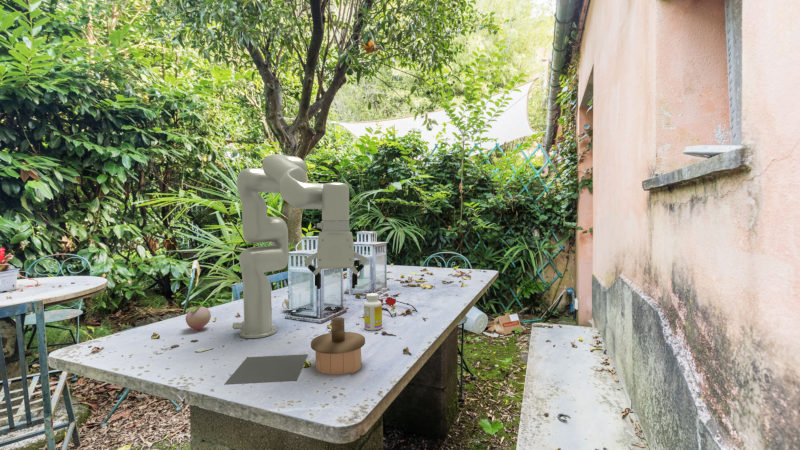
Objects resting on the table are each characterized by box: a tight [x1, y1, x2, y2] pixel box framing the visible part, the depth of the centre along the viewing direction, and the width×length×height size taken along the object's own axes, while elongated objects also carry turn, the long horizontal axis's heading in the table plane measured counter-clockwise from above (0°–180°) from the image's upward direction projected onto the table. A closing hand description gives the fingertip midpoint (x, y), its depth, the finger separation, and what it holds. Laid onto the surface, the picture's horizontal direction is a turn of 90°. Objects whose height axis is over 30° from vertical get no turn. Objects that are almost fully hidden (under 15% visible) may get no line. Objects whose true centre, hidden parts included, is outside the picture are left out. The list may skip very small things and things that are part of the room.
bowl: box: [315, 347, 362, 375], centre depth 105 cm, size 12×12×6 cm
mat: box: [223, 353, 309, 386], centre depth 103 cm, size 18×18×1 cm
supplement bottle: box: [363, 292, 383, 332], centre depth 139 cm, size 7×7×13 cm
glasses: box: [378, 296, 418, 318], centre depth 164 cm, size 14×16×5 cm
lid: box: [310, 316, 366, 354], centre depth 104 cm, size 15×15×7 cm
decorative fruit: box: [185, 303, 212, 331], centre depth 141 cm, size 9×8×10 cm
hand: (336, 288), depth 104 cm, fingers open, 9 cm apart
